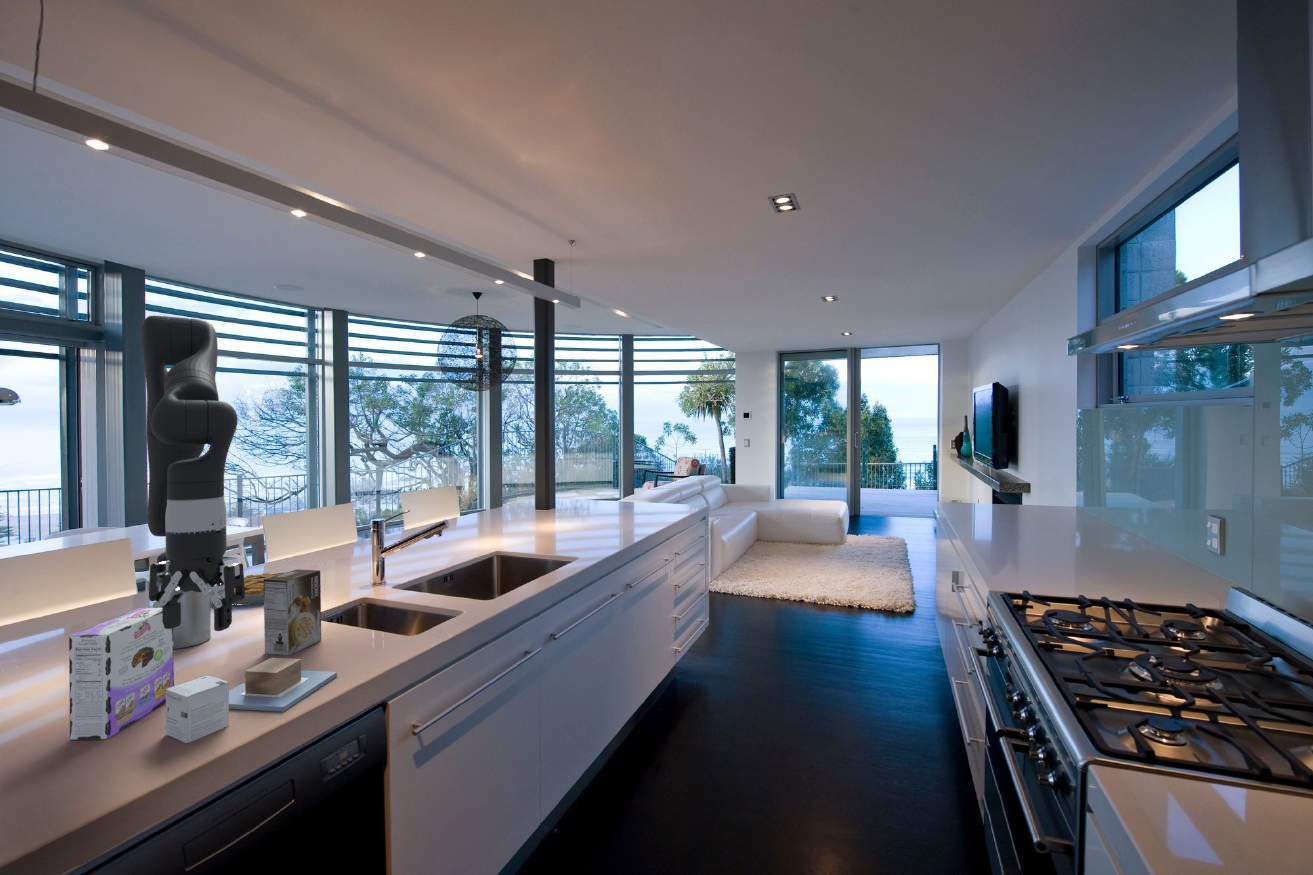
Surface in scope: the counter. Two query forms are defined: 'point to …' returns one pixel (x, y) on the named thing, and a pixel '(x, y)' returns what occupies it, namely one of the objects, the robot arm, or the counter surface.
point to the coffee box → (292, 611)
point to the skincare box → (197, 708)
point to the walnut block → (272, 676)
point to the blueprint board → (285, 698)
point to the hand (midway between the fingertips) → (197, 628)
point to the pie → (254, 589)
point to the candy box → (118, 673)
